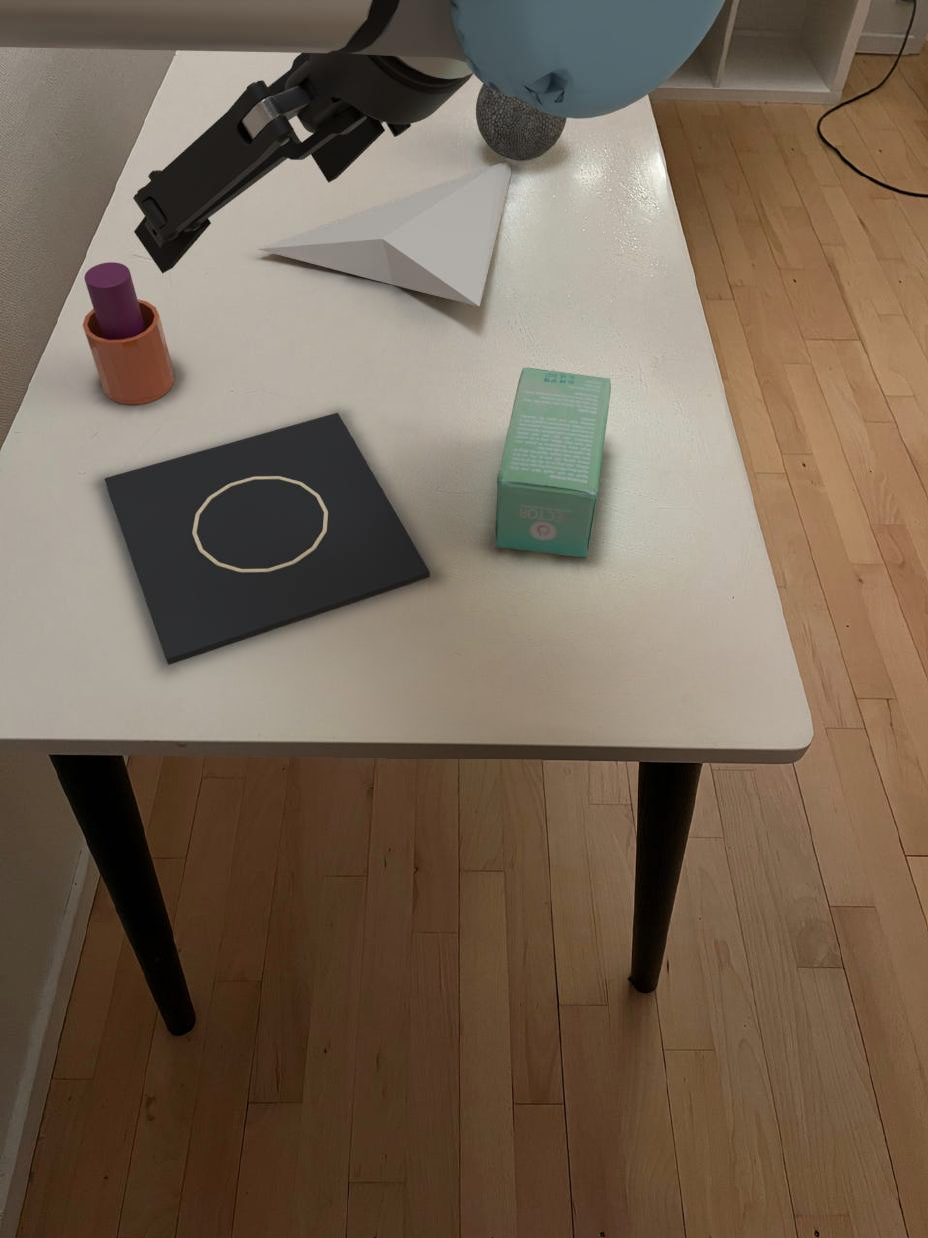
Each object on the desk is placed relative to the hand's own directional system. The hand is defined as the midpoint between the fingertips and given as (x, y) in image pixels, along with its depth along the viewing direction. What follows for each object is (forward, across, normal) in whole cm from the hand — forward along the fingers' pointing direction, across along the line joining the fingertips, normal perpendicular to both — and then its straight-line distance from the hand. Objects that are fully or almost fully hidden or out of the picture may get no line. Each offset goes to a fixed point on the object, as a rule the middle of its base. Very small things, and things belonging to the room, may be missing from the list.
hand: (240, 203), depth 65 cm
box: (+7, +14, -29) cm, 33 cm away
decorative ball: (+33, +56, -3) cm, 65 cm away
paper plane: (+32, +33, -4) cm, 46 cm away
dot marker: (+33, +2, -3) cm, 33 cm away
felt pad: (+18, -3, -18) cm, 26 cm away
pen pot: (+33, +2, -3) cm, 33 cm away
